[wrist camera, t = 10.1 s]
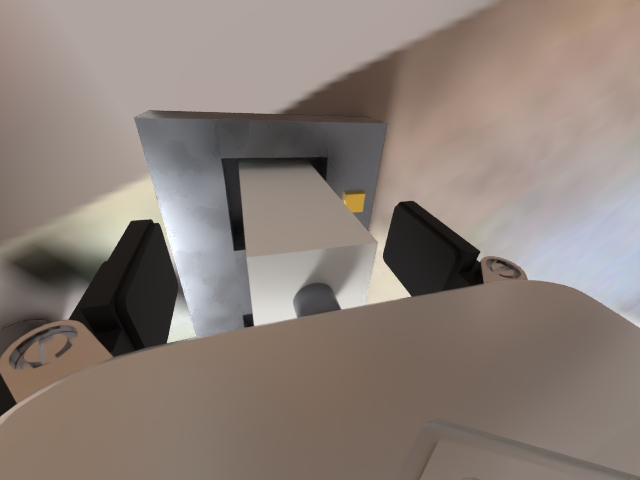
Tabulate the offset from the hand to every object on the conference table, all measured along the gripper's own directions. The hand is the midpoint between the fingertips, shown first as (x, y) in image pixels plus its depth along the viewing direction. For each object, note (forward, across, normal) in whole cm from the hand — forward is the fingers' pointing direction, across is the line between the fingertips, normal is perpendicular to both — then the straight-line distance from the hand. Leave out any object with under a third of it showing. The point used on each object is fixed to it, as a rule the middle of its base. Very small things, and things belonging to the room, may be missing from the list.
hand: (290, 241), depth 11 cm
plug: (+7, 0, +1) cm, 7 cm away
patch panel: (+7, 0, +6) cm, 10 cm away
